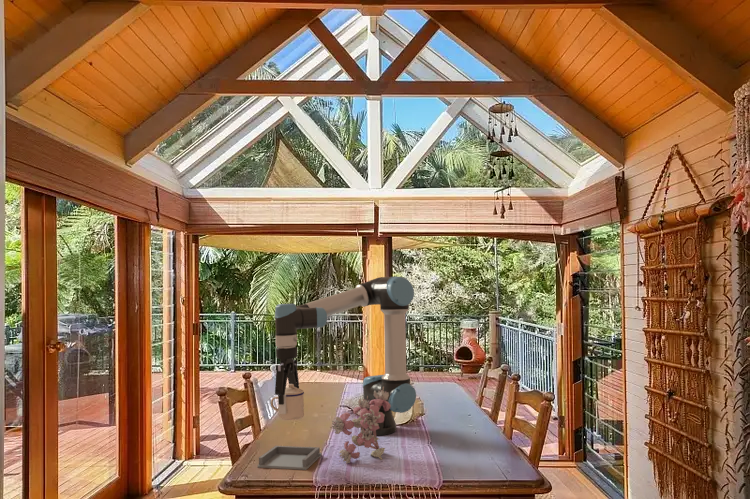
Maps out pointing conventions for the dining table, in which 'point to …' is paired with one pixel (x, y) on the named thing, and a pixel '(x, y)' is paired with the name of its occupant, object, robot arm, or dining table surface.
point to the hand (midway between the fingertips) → (287, 410)
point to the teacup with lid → (292, 403)
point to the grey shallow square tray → (289, 457)
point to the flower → (363, 426)
